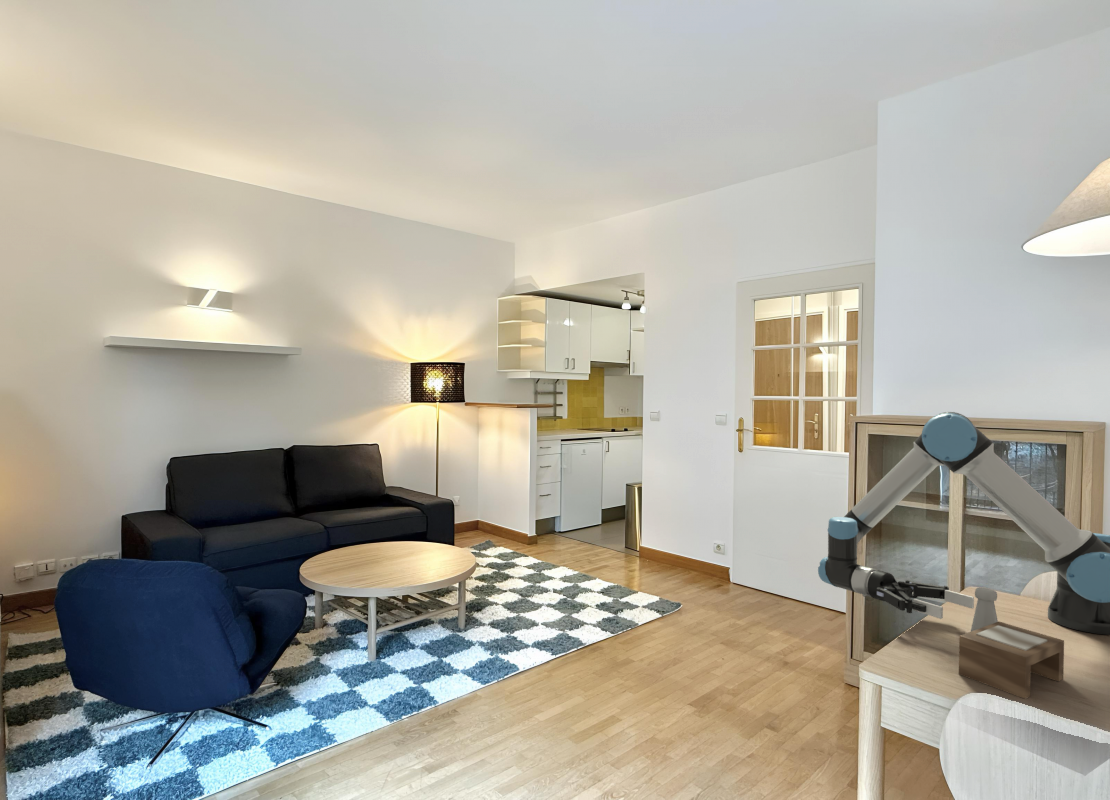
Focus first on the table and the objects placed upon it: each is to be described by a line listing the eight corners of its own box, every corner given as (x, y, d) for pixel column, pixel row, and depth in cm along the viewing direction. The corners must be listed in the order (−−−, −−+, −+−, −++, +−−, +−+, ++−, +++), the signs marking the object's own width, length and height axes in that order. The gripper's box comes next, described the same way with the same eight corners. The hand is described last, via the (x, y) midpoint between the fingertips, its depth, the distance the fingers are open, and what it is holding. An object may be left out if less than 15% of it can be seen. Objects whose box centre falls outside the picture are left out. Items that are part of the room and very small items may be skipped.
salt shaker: (1005, 650, 142) (1006, 593, 142) (977, 648, 144) (978, 592, 143) (992, 640, 148) (993, 585, 148) (965, 638, 149) (966, 584, 149)
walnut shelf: (998, 657, 139) (998, 620, 139) (1063, 679, 129) (1064, 639, 128) (958, 673, 131) (959, 634, 131) (1024, 698, 121) (1025, 655, 120)
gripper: (901, 589, 175) (985, 613, 157) (844, 605, 163) (927, 633, 145) (902, 563, 175) (985, 584, 157) (845, 576, 163) (928, 601, 144)
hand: (958, 607), depth 151 cm, fingers open, 13 cm apart
